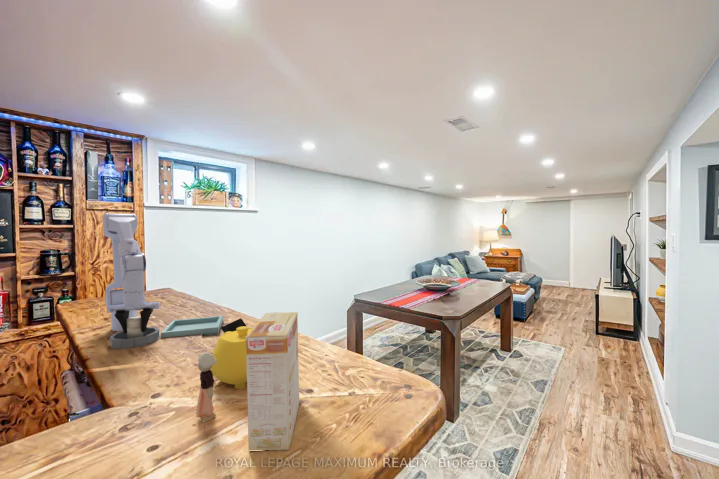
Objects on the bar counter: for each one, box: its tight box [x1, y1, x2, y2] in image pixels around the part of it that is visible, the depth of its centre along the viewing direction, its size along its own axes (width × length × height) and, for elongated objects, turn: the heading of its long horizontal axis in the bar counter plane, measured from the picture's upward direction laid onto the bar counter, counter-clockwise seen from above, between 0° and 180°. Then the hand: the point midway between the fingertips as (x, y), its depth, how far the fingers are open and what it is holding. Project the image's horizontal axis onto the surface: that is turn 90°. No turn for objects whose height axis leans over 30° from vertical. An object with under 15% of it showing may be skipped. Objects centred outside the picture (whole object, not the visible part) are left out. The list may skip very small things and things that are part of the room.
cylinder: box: [127, 315, 143, 338], centre depth 103 cm, size 4×4×6 cm
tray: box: [160, 315, 224, 339], centre depth 116 cm, size 16×18×2 cm
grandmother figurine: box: [195, 352, 217, 422], centre depth 61 cm, size 8×4×13 cm, turn 45°
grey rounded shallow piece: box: [109, 326, 160, 350], centre depth 103 cm, size 13×13×4 cm
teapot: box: [210, 325, 253, 390], centre depth 77 cm, size 14×20×13 cm
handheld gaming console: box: [220, 317, 248, 334], centre depth 107 cm, size 12×7×10 cm
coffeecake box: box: [245, 311, 300, 451], centre depth 58 cm, size 15×7×20 cm, turn 4°
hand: (135, 331), depth 103 cm, fingers closed on cylinder, 4 cm apart
